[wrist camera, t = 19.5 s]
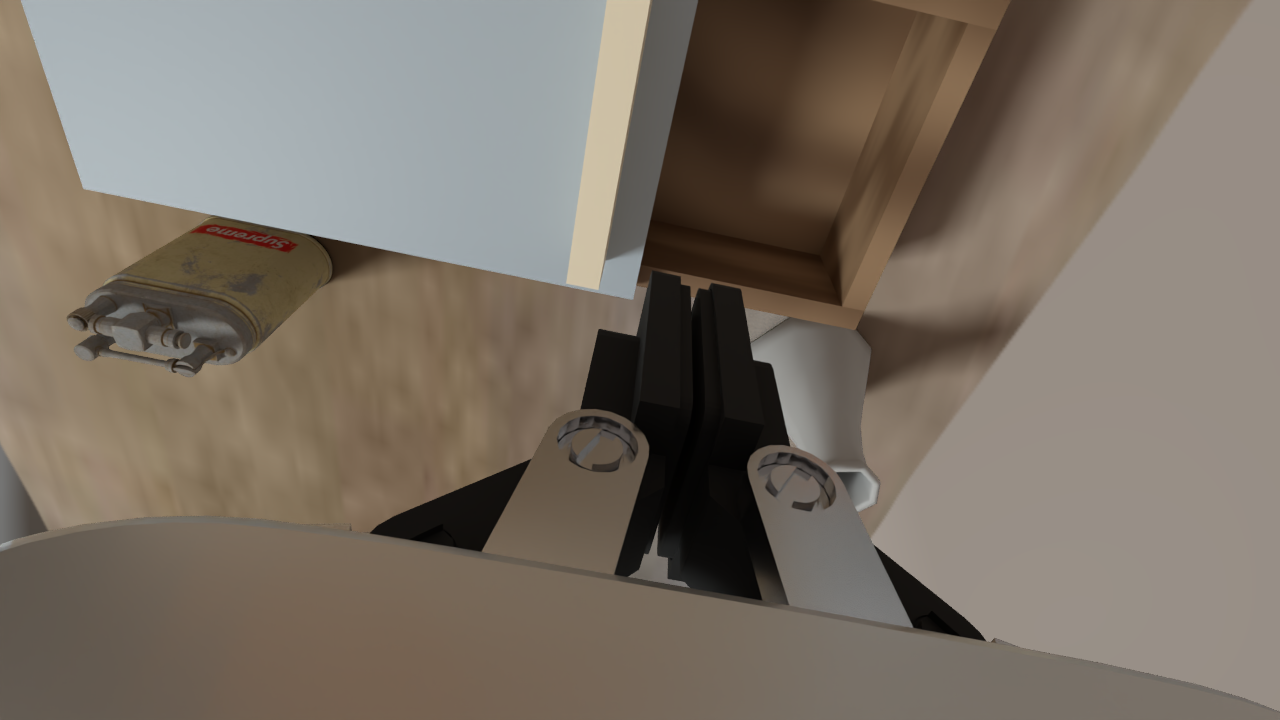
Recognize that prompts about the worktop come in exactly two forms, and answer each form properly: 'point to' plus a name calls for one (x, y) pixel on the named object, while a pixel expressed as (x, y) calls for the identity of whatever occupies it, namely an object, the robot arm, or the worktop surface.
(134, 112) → the lid
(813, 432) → the flask
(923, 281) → the worktop surface
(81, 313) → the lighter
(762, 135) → the wooden box
